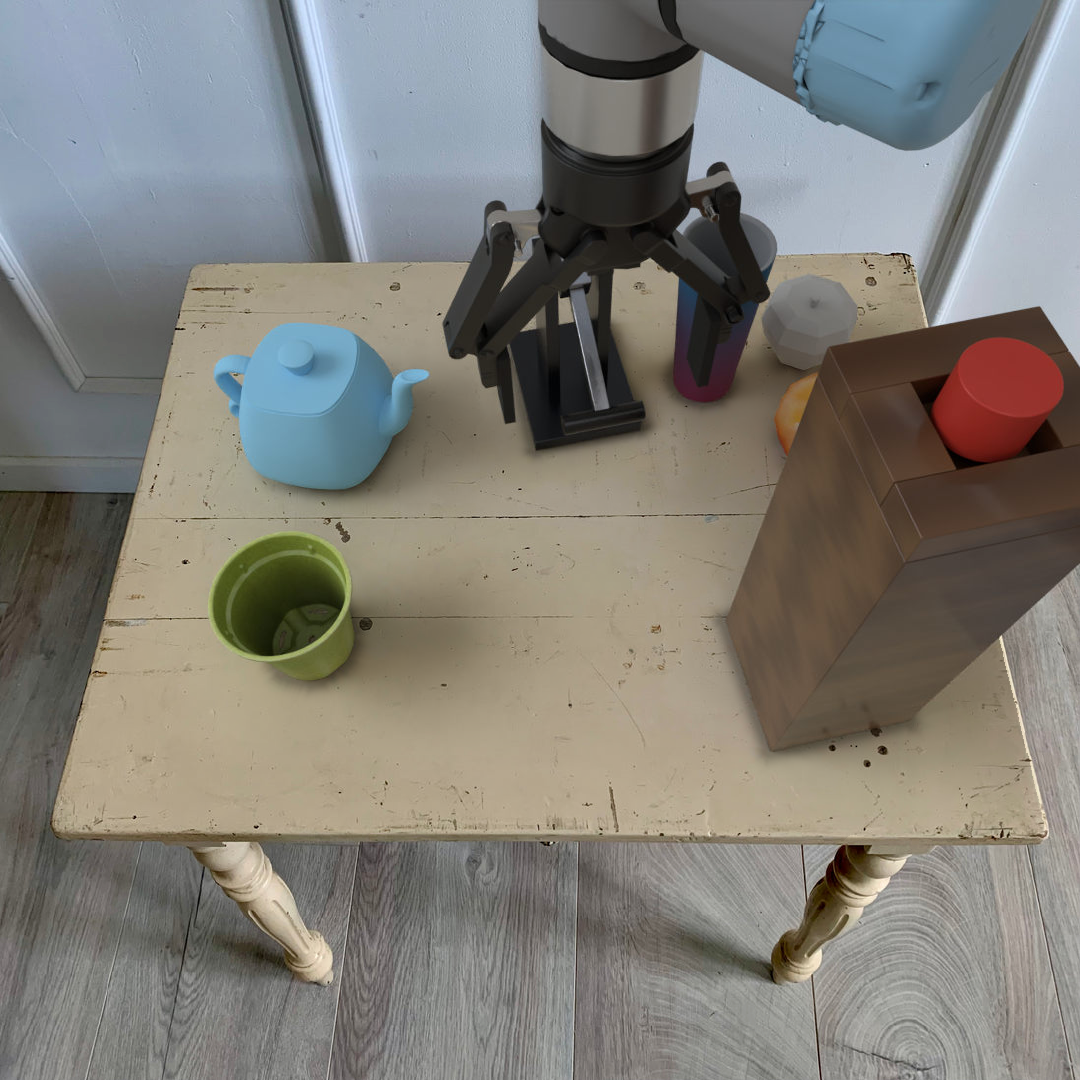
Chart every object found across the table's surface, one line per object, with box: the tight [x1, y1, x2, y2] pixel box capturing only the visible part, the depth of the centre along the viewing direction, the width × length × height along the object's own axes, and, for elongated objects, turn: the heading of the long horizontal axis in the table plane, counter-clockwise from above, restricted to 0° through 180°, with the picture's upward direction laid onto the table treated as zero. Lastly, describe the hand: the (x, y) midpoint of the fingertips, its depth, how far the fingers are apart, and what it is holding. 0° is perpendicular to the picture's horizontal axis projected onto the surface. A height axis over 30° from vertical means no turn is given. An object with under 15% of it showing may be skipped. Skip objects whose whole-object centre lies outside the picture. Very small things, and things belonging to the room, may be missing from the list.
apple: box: [760, 273, 858, 371], centre depth 74 cm, size 8×8×7 cm
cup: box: [672, 212, 778, 403], centre depth 70 cm, size 7×7×15 cm
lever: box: [558, 258, 647, 435], centre depth 65 cm, size 13×6×2 cm, turn 12°
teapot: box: [213, 322, 430, 491], centre depth 70 cm, size 13×11×18 cm
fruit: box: [773, 371, 819, 457], centre depth 70 cm, size 8×8×8 cm
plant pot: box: [207, 530, 355, 681], centre depth 62 cm, size 9×9×9 cm
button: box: [931, 338, 1064, 463], centre depth 36 cm, size 4×4×3 cm
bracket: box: [507, 237, 643, 451], centre depth 70 cm, size 12×9×15 cm
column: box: [725, 305, 1080, 752], centre depth 50 cm, size 10×10×30 cm
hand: (602, 390), depth 62 cm, fingers open, 13 cm apart
